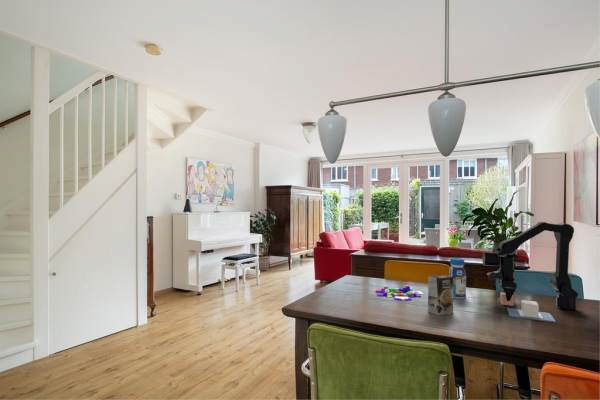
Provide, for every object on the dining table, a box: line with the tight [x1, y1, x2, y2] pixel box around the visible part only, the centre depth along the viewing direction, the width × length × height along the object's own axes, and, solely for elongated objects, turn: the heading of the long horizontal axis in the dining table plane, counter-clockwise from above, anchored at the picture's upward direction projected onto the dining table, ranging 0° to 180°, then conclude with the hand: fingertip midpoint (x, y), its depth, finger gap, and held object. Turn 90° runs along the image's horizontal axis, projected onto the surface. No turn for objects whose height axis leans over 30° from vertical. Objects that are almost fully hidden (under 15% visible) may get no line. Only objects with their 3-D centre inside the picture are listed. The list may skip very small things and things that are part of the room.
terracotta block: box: [500, 291, 515, 307], centre depth 160 cm, size 5×5×5 cm
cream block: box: [520, 299, 540, 317], centre depth 143 cm, size 6×6×5 cm
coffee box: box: [427, 274, 454, 316], centre depth 146 cm, size 9×6×16 cm
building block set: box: [375, 284, 424, 302], centre depth 175 cm, size 25×20×4 cm
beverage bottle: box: [448, 257, 467, 300], centre depth 172 cm, size 8×8×20 cm
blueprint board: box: [506, 307, 557, 323], centre depth 142 cm, size 16×12×1 cm
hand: (507, 298), depth 160 cm, fingers open, 9 cm apart
